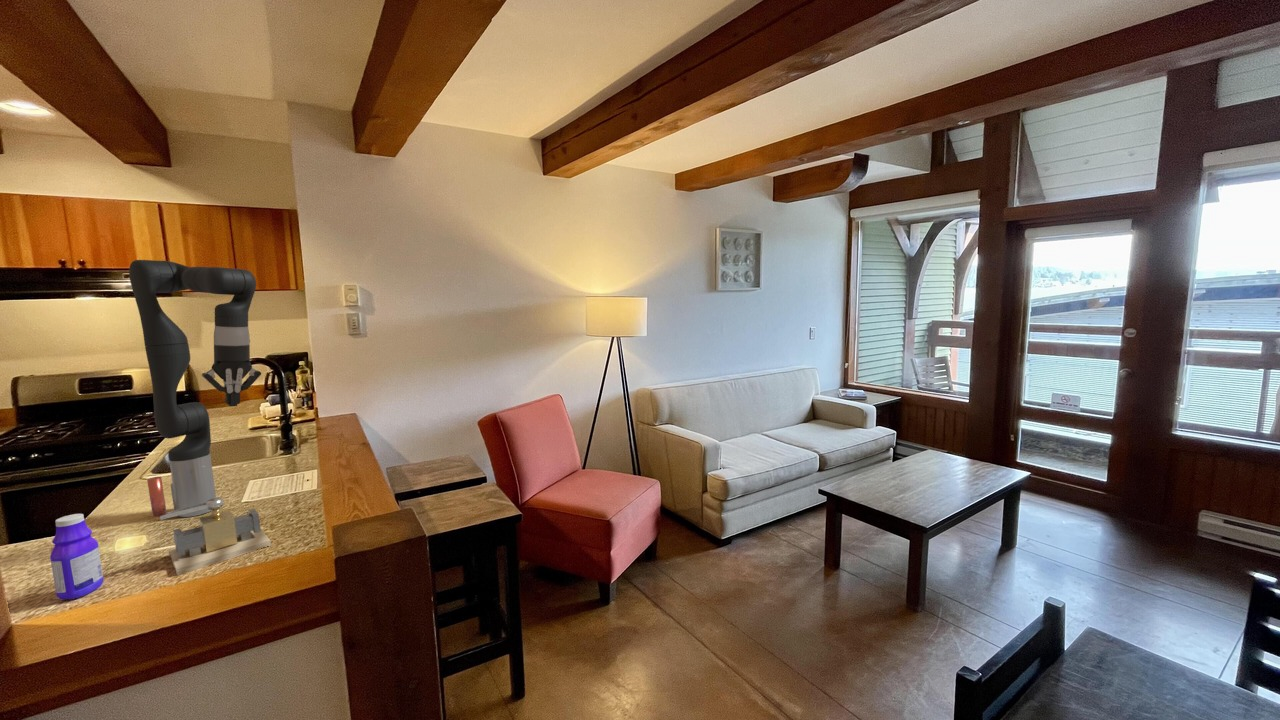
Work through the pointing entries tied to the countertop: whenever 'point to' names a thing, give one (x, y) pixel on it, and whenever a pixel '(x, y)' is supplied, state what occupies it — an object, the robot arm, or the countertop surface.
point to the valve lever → (160, 510)
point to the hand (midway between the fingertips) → (232, 405)
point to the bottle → (75, 558)
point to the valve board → (217, 553)
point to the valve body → (216, 532)
